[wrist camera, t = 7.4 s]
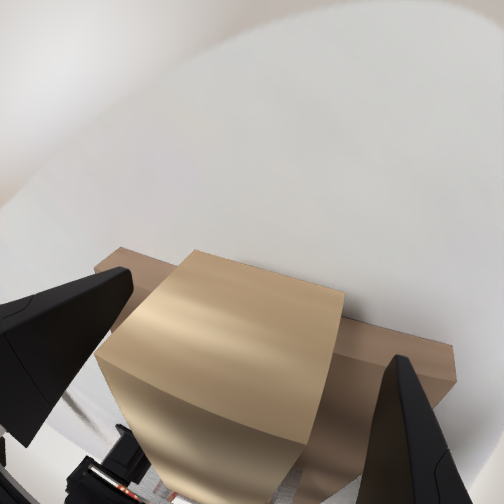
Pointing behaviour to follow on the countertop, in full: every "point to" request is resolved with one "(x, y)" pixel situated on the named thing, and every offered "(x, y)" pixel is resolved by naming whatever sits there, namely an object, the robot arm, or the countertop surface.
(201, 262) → the bar
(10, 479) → the robot arm
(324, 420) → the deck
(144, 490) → the tunnel
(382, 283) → the countertop surface
